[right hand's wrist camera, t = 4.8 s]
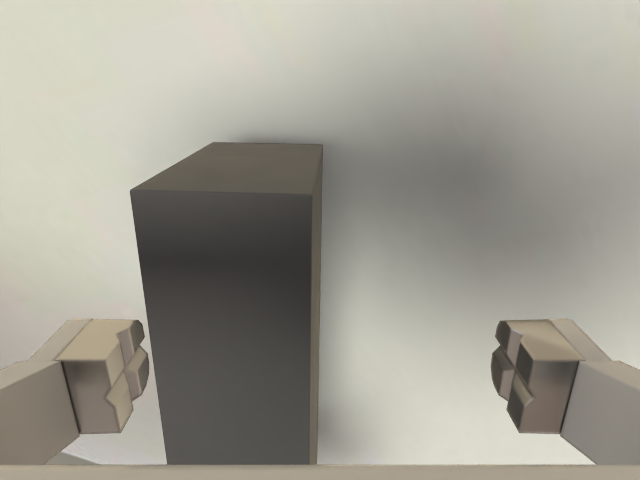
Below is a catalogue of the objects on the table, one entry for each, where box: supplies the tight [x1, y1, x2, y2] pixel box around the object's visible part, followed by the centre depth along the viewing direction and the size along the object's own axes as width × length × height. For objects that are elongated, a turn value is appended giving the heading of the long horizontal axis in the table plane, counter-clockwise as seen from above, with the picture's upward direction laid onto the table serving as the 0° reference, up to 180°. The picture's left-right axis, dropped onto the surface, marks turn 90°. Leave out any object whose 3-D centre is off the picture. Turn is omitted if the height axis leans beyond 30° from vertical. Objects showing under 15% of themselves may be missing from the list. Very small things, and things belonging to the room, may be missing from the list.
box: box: [130, 142, 323, 465], centre depth 25 cm, size 28×6×11 cm, turn 179°
